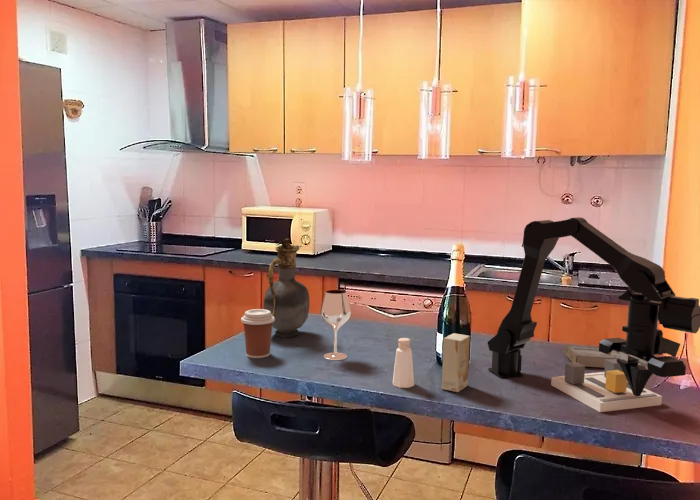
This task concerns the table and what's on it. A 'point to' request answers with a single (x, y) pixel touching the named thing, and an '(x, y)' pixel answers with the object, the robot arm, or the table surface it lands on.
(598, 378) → the panel
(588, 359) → the box
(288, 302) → the pitcher
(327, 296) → the wineglass
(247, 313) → the coffee cup
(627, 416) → the table surface
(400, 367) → the pepper shaker
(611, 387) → the block
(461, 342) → the skincare box
